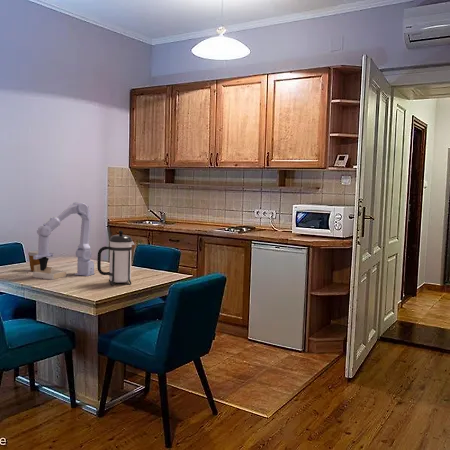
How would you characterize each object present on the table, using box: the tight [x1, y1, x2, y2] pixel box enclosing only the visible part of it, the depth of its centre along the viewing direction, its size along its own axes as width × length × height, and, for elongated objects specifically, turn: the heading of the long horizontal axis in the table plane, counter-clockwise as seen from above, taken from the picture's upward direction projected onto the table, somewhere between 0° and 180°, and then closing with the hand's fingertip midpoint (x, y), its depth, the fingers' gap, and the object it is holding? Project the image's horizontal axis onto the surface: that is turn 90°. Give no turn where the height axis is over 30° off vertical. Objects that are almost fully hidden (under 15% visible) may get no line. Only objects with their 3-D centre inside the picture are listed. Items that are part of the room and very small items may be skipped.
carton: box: [32, 269, 67, 281], centre depth 286 cm, size 14×12×3 cm
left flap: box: [36, 266, 53, 273], centre depth 281 cm, size 10×4×1 cm
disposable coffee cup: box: [27, 250, 40, 272], centre depth 303 cm, size 10×10×12 cm
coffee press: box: [96, 230, 136, 286], centre depth 273 cm, size 17×16×30 cm
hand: (43, 270), depth 280 cm, fingers closed
